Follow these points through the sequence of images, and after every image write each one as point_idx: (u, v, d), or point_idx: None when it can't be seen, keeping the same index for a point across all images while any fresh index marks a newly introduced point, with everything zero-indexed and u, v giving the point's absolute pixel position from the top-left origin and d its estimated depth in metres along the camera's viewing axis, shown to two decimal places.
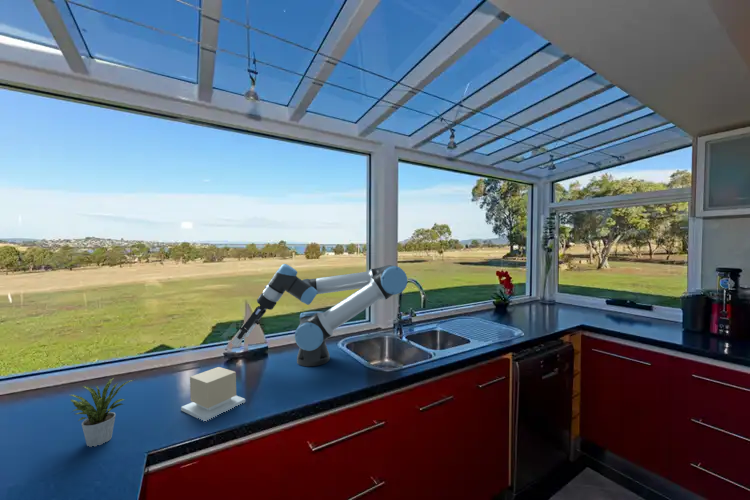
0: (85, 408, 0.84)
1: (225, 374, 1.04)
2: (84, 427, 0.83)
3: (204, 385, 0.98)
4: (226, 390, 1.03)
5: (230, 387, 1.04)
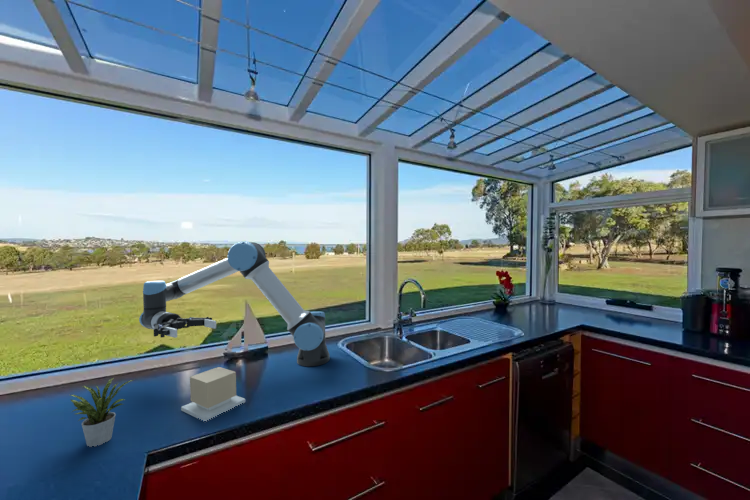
0: (85, 408, 0.84)
1: (225, 374, 1.04)
2: (84, 427, 0.83)
3: (204, 385, 0.98)
4: (226, 390, 1.03)
5: (230, 387, 1.04)
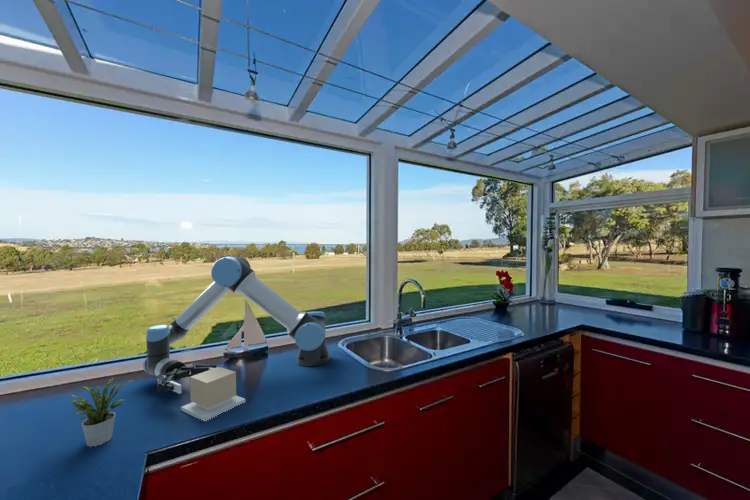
0: (85, 408, 0.84)
1: (225, 374, 1.04)
2: (84, 427, 0.83)
3: (204, 385, 0.98)
4: (226, 390, 1.03)
5: (230, 387, 1.04)
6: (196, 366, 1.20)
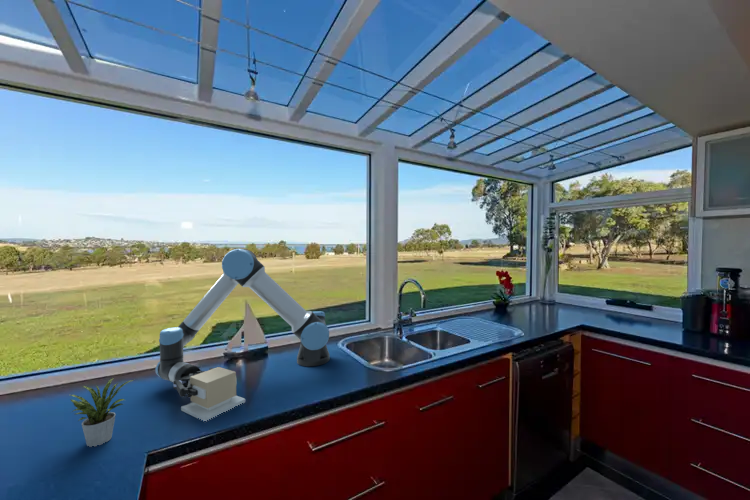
0: (85, 408, 0.84)
1: (225, 374, 1.04)
2: (84, 427, 0.83)
3: (204, 385, 0.98)
4: (226, 390, 1.03)
5: (230, 387, 1.04)
6: None
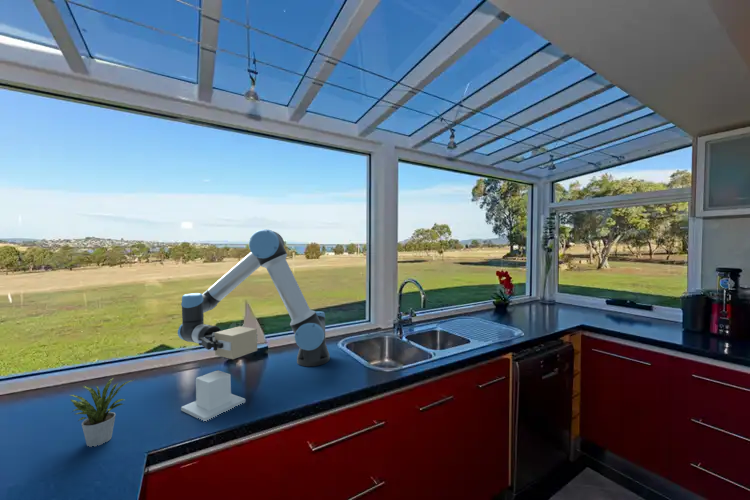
0: (85, 408, 0.84)
1: (247, 330, 1.12)
2: (84, 427, 0.83)
3: (229, 338, 1.06)
4: (248, 344, 1.11)
5: (252, 342, 1.12)
6: None
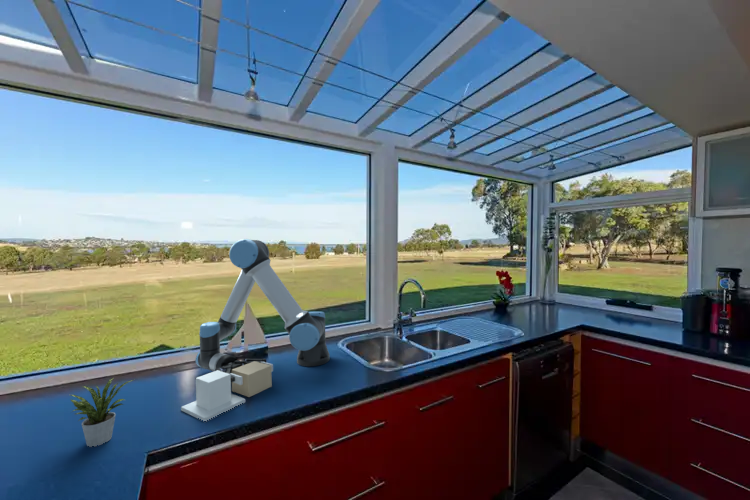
0: (85, 408, 0.84)
1: (262, 367, 1.16)
2: (84, 427, 0.83)
3: (246, 377, 1.11)
4: (263, 381, 1.15)
5: (267, 379, 1.17)
6: (247, 360, 1.27)
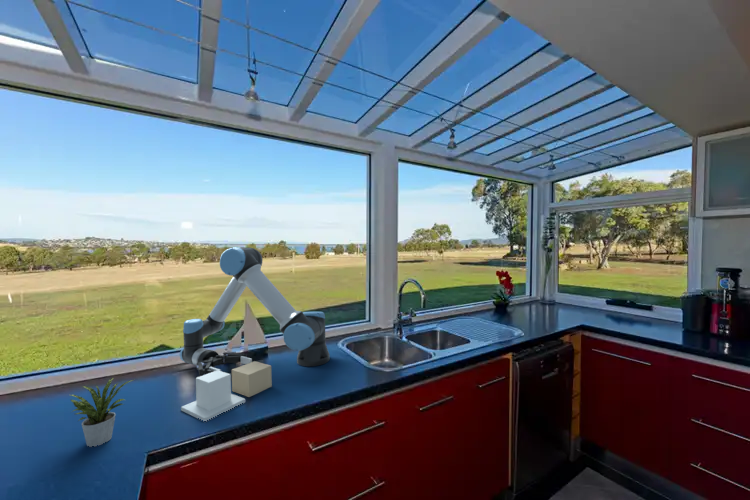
0: (85, 408, 0.84)
1: (262, 367, 1.16)
2: (84, 427, 0.83)
3: (246, 377, 1.11)
4: (263, 381, 1.15)
5: (267, 379, 1.17)
6: (228, 355, 1.34)
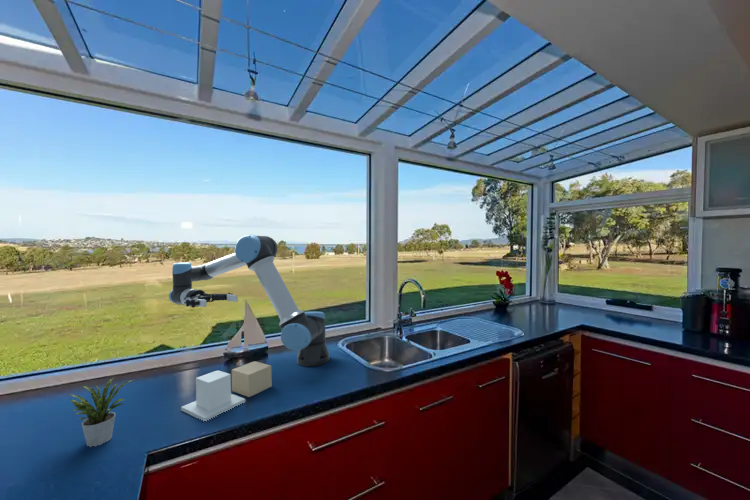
0: (85, 408, 0.84)
1: (262, 367, 1.16)
2: (84, 427, 0.83)
3: (246, 377, 1.11)
4: (263, 381, 1.15)
5: (267, 379, 1.17)
6: (215, 295, 1.39)
